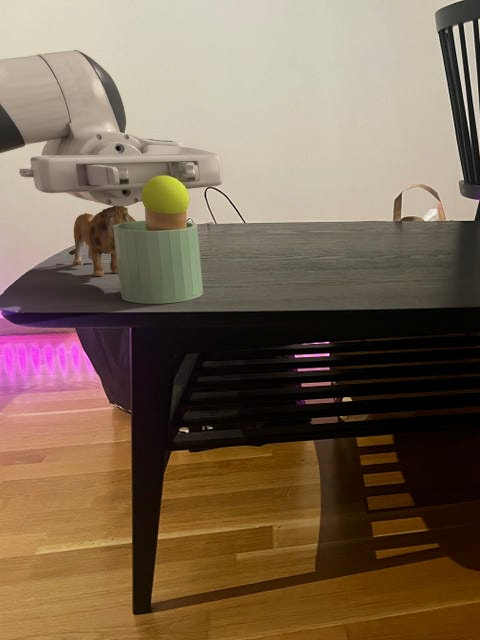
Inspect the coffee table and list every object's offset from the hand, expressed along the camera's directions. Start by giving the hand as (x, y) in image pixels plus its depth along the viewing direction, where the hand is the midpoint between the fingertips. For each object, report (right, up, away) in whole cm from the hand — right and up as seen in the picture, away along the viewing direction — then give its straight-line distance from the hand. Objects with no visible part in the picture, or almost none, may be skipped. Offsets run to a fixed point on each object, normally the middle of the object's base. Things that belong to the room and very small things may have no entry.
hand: (158, 175), depth 76 cm
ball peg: (-1, -12, +5) cm, 13 cm away
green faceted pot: (-2, -13, +5) cm, 14 cm away
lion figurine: (-15, -8, +16) cm, 23 cm away
